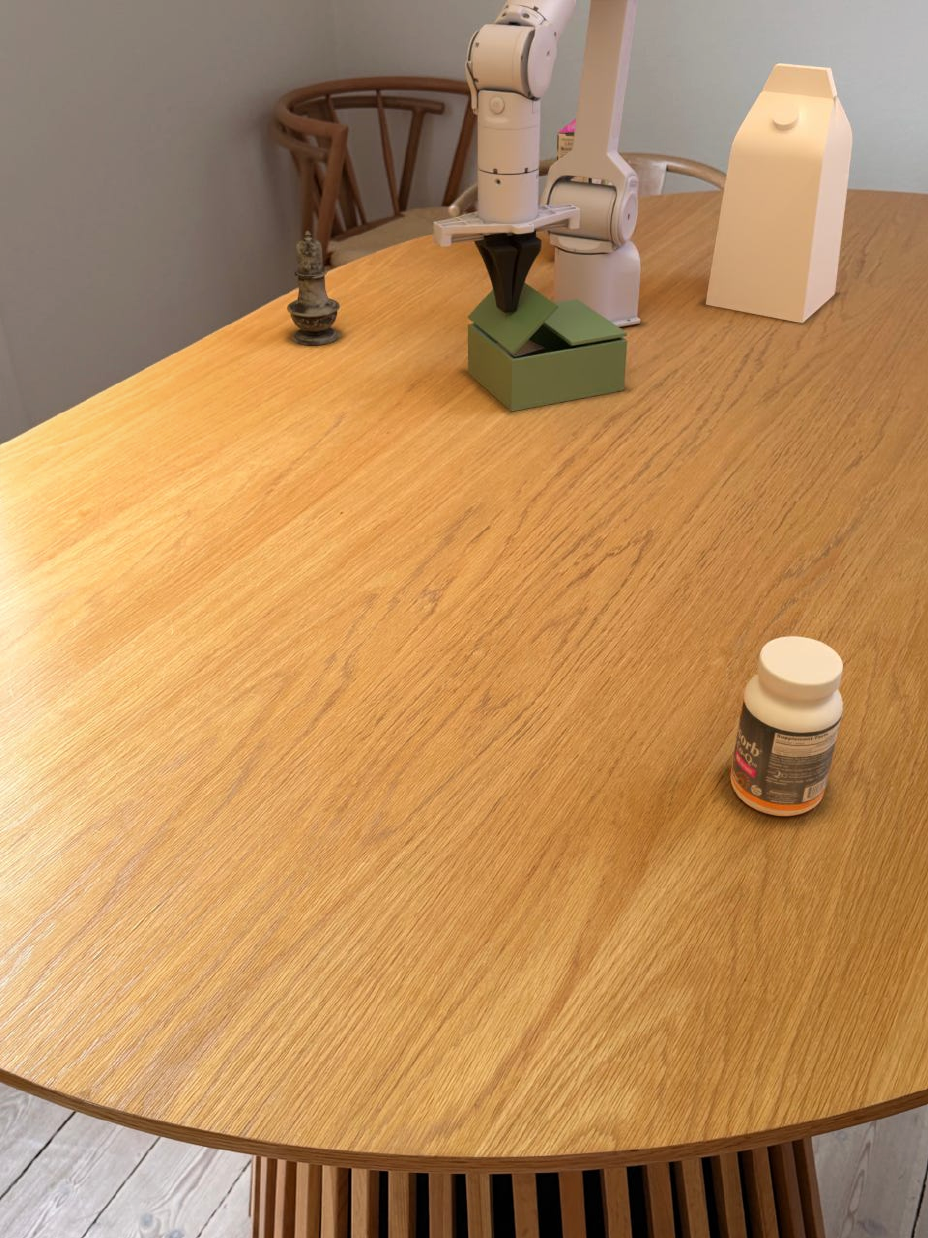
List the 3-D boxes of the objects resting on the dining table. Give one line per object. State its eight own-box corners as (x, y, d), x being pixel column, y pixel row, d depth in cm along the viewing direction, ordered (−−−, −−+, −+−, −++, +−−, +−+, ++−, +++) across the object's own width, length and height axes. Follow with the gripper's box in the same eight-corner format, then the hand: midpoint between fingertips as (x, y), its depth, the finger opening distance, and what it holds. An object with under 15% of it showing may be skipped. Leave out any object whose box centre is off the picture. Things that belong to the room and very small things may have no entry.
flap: (513, 355, 117) (511, 352, 117) (469, 318, 126) (467, 316, 125) (558, 307, 117) (556, 304, 116) (511, 273, 125) (509, 271, 125)
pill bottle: (718, 761, 77) (737, 632, 71) (807, 755, 77) (832, 627, 72) (743, 824, 72) (765, 691, 67) (837, 817, 73) (867, 685, 67)
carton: (511, 411, 121) (512, 352, 117) (467, 372, 129) (467, 316, 125) (624, 390, 125) (628, 332, 121) (574, 353, 133) (577, 298, 129)
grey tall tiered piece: (345, 328, 140) (339, 222, 133) (336, 347, 135) (329, 239, 128) (295, 326, 140) (286, 221, 134) (284, 345, 135) (274, 237, 129)
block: (520, 372, 128) (520, 335, 126) (544, 384, 125) (545, 347, 123) (489, 381, 126) (490, 344, 124) (513, 393, 123) (514, 356, 121)
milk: (834, 293, 148) (873, 62, 133) (802, 323, 140) (839, 80, 125) (741, 277, 153) (769, 53, 139) (705, 304, 145) (730, 69, 131)
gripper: (453, 186, 108) (455, 333, 115) (597, 168, 112) (590, 310, 120) (423, 167, 113) (427, 309, 121) (562, 151, 118) (557, 288, 125)
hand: (506, 308), depth 121 cm, fingers closed
